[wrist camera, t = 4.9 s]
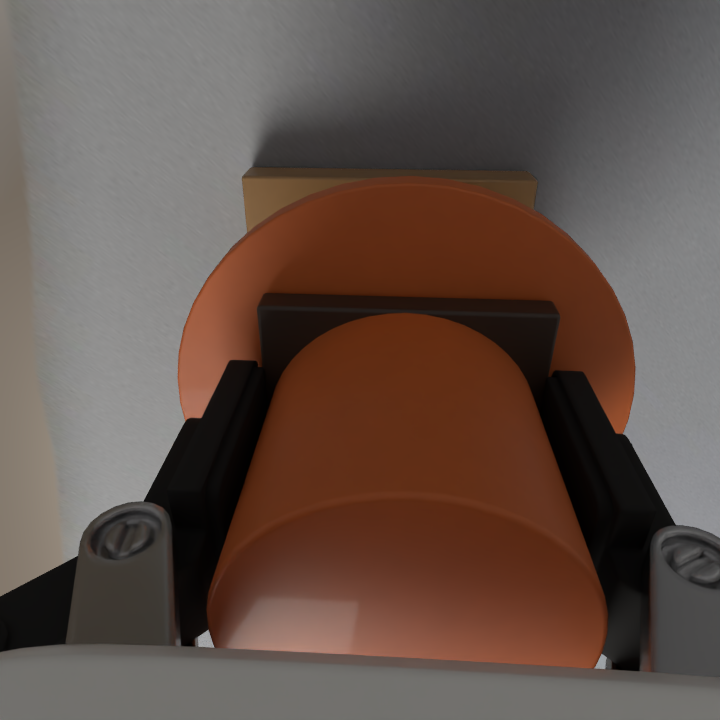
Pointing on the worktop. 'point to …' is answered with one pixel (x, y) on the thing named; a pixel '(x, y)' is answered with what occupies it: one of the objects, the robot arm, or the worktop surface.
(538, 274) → the hat
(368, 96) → the worktop surface
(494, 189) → the stand
